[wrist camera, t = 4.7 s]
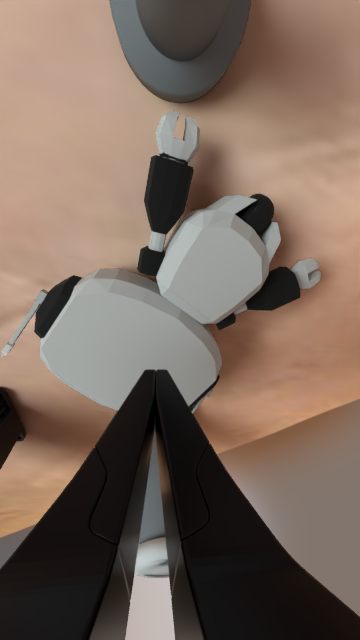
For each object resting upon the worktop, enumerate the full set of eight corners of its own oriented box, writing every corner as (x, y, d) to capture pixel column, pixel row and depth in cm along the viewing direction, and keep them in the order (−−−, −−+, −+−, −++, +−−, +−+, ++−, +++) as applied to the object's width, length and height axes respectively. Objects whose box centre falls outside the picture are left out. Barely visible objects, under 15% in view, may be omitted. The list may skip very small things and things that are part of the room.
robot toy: (163, 108, 11) (28, 326, 15) (171, 55, 7) (-14, 369, 11) (304, 263, 16) (170, 397, 20) (357, 283, 12) (174, 446, 16)
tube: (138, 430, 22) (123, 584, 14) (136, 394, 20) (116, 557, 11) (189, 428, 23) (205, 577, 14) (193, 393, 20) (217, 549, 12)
